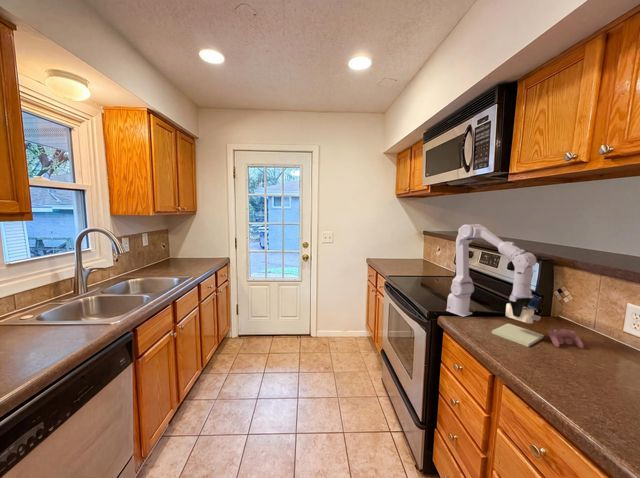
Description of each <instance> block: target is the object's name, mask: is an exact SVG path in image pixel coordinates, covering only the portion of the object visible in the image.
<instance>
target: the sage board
mask: <svg viewBox="0 0 640 478" xmlns="http://www.w3.org/2000/svg"><path fill="white" fill-rule="evenodd" d="M491 334H493V335H494V336H495V335H496V336H498V337H501V338H503V339H506V340H508V341H510V342H514V343H517V344H519V345H522V346H525V347H527V348H529V347H531V346H532V345H534V344H536V343H537V342H539V341H540V340H543V339H544V338H545V337H544V334H542V333H539V332H535V331H533V330H530V329H527V328H524V327H521V326H518V325H514V324H512V323H509V322H508V323H505V324H503V325H500V326H498V327H497V328H494V329H492V330H491Z"/></svg>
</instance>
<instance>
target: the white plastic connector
mask: <svg viewBox="0 0 640 478" xmlns="http://www.w3.org/2000/svg"><path fill="white" fill-rule="evenodd" d="M505 317H507V318H508V319H509V318H510V319H513V320H516V321H519V322H523V323H526V324H533V323H534V321H537V322H538V321H540V320H541V319H542V316H540V315H536V314H535V310H534V308H533V309H532V308H530V307H523V308H522V312H521V315H520V317H516V316H513V311H512V307H511V304H510V302H508V303H506V305H505Z"/></svg>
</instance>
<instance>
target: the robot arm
mask: <svg viewBox="0 0 640 478" xmlns="http://www.w3.org/2000/svg"><path fill="white" fill-rule="evenodd" d="M476 239H483V240H484V241H486V242H488V243H489V244H491V245H493V247H496V248H497V249H498V253H500V254H501V255H502V256H503V257H506V259H508V260H510V261H511V262H512V264H513V266H514V274H513V275H514V276H513V284H512V291H511V294H510V295H509V297H508V301H509V302H508V303H510V304H511V307H512V311H513V316H516V317H520V315H521V312H522V308H523V307H527V308H529V305H530V304H531V302H532V301H533V298H534V295H532V293H533V292H532V290H531V289H532V288H531V287H532V280H533V279H532V278H533V269H534V266H536V264H537V260H538V259H537V257H536V256H535V255H534V253H532V252H526V250H525V249H521V248H520V247H518V246H516V245H515V244H516V243H515V242H513V241H504V240H502V239H501V238H500V237H498V236H497V235H496V234H494V233H493V232H491V231H490V230H488V228H487V227H485V226H483V225H482V224H479V223H475V224H463V225H461V226H460V227H459V228H458V234H457V236H456V239H455V266H456V267H455V268H456V269H455V271H456V275H455V277H454V278H453V279H452V283H451V286H450V292H451V293H449V294H448V296H447V302H446V303H447V304H446V309H445V311H446V312H449V313H452V314H455V315H458V316H459V317H464V318H465V317H467V316H470V315H473V312H472V311H470V303H471V296H472V294H473V293H474V291H475V286H474V284H473V279H472V278H471V276H470V263H469V262H470V256H469V254H470V252H469V251H470V249H469V247H470V246H469V244H470V243H472V242H473V241H475V240H476Z"/></svg>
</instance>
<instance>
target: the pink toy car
mask: <svg viewBox="0 0 640 478" xmlns="http://www.w3.org/2000/svg"><path fill="white" fill-rule="evenodd" d="M548 336H549V338H550V340H551V342H552V344H553V345H554V346H555V347H556V348H560V346H561V345H563V344H566V345H568V346H569V345H570V346H571V345H572V344H573V342H574V344H575V345H576V346H577V347H578V348H579V349H581V350H583V349H584V348H585V347H584V342H583V341H582V340H581V338H580V337H579V335H578V334H577V332H575V331H574V330H571V329H566V328H555V329H554V328H553V329H551V330H549V331H548ZM563 338H564V339H563Z"/></svg>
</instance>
